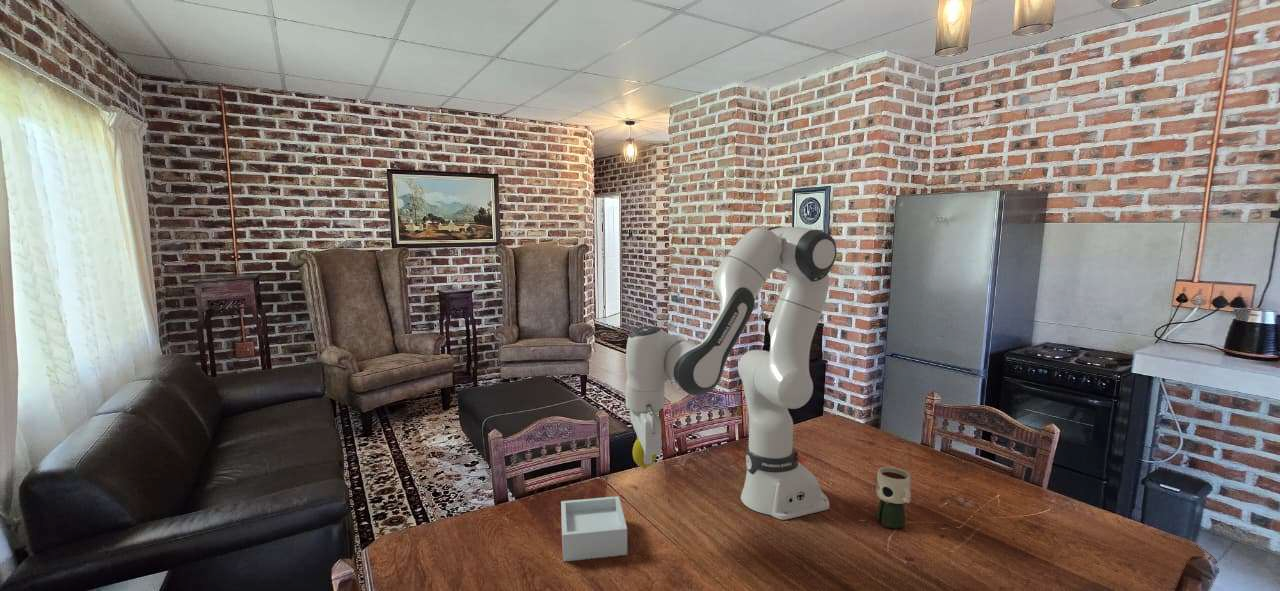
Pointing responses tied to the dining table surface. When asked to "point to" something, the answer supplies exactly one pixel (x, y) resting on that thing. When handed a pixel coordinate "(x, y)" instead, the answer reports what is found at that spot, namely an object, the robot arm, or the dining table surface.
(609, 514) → the white open box
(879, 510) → the character mug
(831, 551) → the dining table surface
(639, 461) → the lemon
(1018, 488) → the dining table surface
